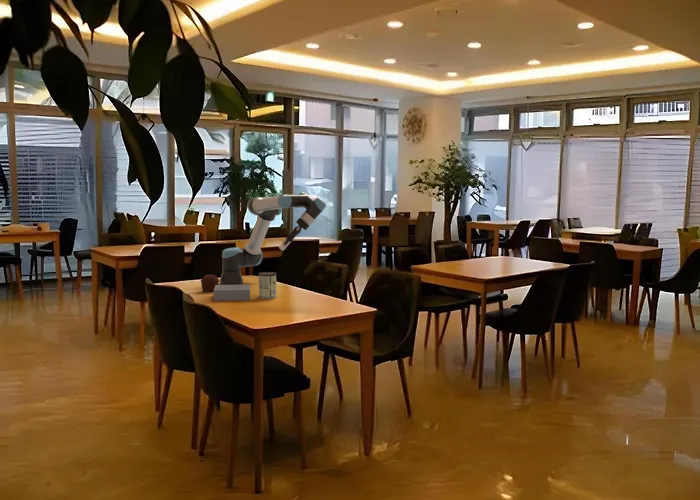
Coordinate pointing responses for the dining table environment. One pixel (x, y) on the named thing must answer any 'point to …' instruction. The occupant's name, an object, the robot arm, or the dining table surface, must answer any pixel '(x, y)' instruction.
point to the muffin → (209, 283)
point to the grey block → (231, 292)
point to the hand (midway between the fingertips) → (281, 249)
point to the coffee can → (267, 285)
